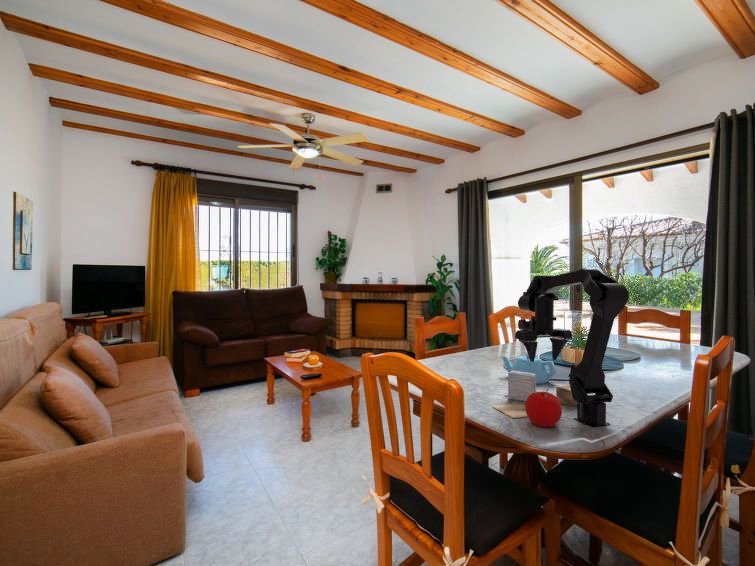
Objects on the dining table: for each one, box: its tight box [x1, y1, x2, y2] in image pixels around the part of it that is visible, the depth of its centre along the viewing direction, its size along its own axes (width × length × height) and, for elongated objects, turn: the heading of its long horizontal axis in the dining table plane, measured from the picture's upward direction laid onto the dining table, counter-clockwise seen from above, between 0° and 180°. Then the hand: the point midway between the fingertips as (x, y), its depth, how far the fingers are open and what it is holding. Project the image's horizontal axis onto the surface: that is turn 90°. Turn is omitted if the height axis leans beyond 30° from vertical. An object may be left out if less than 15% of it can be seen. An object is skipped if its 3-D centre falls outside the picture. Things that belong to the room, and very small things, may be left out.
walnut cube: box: [555, 384, 578, 408], centre depth 117 cm, size 5×5×5 cm
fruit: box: [525, 388, 563, 428], centre depth 100 cm, size 9×9×10 cm
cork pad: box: [492, 402, 528, 420], centre depth 110 cm, size 10×10×1 cm
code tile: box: [503, 394, 526, 405], centre depth 120 cm, size 11×6×1 cm, turn 18°
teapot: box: [501, 353, 558, 385], centre depth 142 cm, size 15×15×11 cm
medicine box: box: [507, 370, 537, 402], centre depth 120 cm, size 8×4×9 cm, turn 55°
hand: (543, 360), depth 121 cm, fingers open, 9 cm apart
